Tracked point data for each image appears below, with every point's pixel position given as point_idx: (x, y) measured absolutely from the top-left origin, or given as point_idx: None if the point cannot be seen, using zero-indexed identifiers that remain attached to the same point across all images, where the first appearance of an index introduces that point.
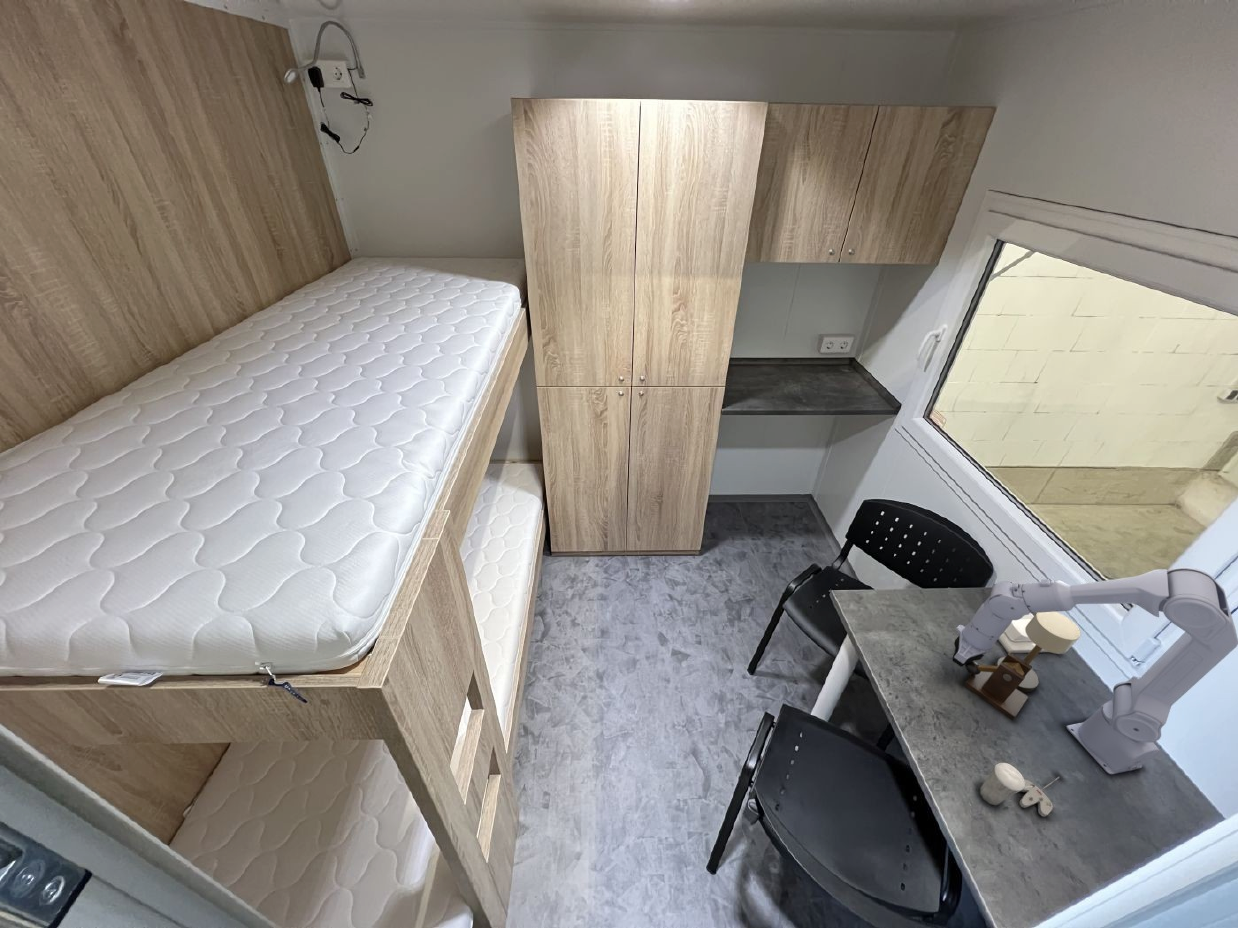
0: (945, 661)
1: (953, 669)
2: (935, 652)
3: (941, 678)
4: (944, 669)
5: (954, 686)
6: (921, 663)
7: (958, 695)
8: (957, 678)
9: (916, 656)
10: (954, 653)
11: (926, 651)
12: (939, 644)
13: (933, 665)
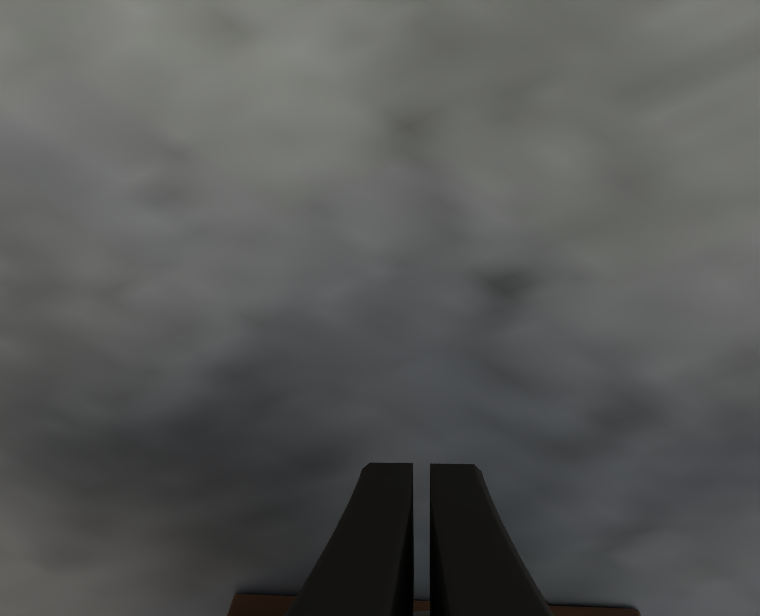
0: (375, 349)
1: (340, 459)
2: (409, 183)
3: (68, 423)
4: (231, 393)
5: (119, 546)
6: (3, 147)
7: (59, 602)
8: (254, 530)
9: (36, 19)
10: (298, 595)
11: (294, 76)
12: (643, 145)
13: (148, 276)
